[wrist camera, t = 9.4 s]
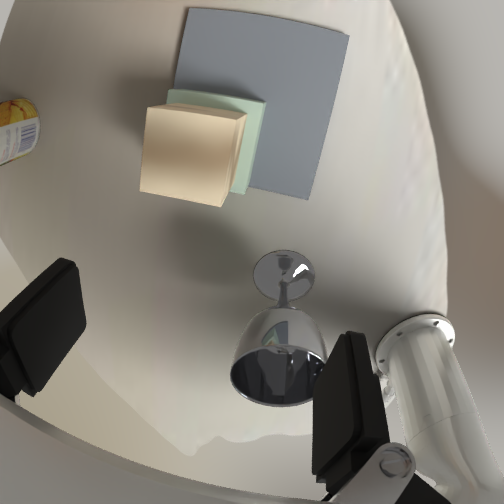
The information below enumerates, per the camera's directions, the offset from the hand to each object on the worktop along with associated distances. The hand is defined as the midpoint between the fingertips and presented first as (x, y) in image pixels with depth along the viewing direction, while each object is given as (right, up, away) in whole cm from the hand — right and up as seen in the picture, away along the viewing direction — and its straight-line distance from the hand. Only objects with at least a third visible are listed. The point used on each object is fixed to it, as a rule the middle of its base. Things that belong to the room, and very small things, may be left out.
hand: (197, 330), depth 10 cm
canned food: (-28, +19, +20) cm, 39 cm away
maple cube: (-2, +12, +15) cm, 19 cm away
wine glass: (+5, 0, +26) cm, 27 cm away
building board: (+2, +17, +17) cm, 24 cm away
